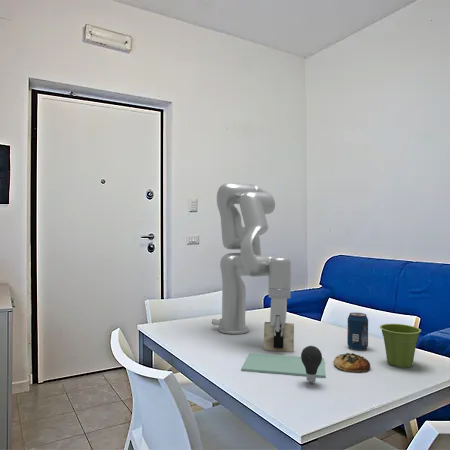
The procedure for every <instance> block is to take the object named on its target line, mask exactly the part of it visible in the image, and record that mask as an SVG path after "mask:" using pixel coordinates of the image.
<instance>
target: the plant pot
mask: <svg viewBox="0 0 450 450" xmlns="http://www.w3.org/2000/svg"><path fill="white" fill-rule="evenodd" d="M379 328H380V330H381V333H382V336H383V341H384V348H385V354H386V360H387V363H388V364H389V365H390V366H395V367H398V368H406V367H407V368H410V367H412V366H413V364H414V358H415V354H416V353H415V352H416V347H417V341H418V339H419V335H420V333H421V332H422V329H420V328H419V327H417V326H415V325H409V324H403V323H384V324H380V325H379Z"/></svg>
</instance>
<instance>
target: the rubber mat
mask: <svg viewBox="0 0 450 450" xmlns="http://www.w3.org/2000/svg"><path fill="white" fill-rule="evenodd" d="M240 371H242V372H253V373H262V374H263V373H264V374H276V375H287V376H297V377H298V376H299V377H307V373H306V369H305V366H304V364H303V363H302V360H301V356H297V355H284V354H270V353H269V354H268V353H257V352H248V354H247V357H246V359H245V360H244V362H243V365H242V366H241V370H240ZM326 376H327V373H326V364H325V358H324V357H322V361H321V364H320V365H319V367H318V369H317V373H316V378H321V379H323V378H325V379H326V378H327V377H326Z"/></svg>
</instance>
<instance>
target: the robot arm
mask: <svg viewBox="0 0 450 450" xmlns="http://www.w3.org/2000/svg"><path fill="white" fill-rule="evenodd" d="M216 204H217V210H218V212H219V217H220V225H221V226H220V229H221V240H222V245H223V247H224V248H225V249H227V250H235V251H237V250H239V251H240V252H230V253H226V254H224V255H222V257H221V258H220V265H219V266H220V267H219V268H220V272H221V273H220V274H221V280H222V286H221V287H222V288H221V291H222V292H221V295H222V298H221V301H222V302H221V318H219V319H216V318H215V319H214V318H212V319H211V325H213V326H217V325H218V327H217V331H219V332H220V333H222V334H227V335H242V334H246V333H249V330H250V327H249V326H247V325H246V300H247V299H246V297H247V296H246V293H247V292H246V291H247V289H246V285H245V282H244V281H243V279H242V277H247V276H249V277H252V278H255V277H256V278H257V277H259V278H260V277H268V298H270V299H271V300H270V312H269V313H270V315H269V319H270V320H269V322H270V327H272V326H274V348H283V328H284V326H285V323H287V322H286V321H287V312H288V309H287V305H288V302H287V301H288V299H291V285H292V284H291V281H292V280H291V275H292V271H291V269H292V268H291V265H292V261H291V259H290V258H289V257H284V256H278V255H273V254H268V255H267V254H264V255H263V254H262V251H261V249H262V247H261V240H260V236H261V235H264V234H266V232H267V231H268V230H269V225H268V221H267V217H266V215H269V214H272V213H273V212H274V210H275V208H276V201H275V198H274V196H273V195H272V193H270V192H268V191H267V190H265V189H263V188H262V187H260V186H259V185H255V184H249V183H240V182H238V183H237V182H227V183H223V184H221V185H220V186H219V188H218V190H217V193H216ZM235 205H239V207H240V211H239V209H238V208H237V207H236V206H235ZM240 212H241V213H240ZM242 220H243V224H244V226H243V225H242ZM280 326H281V327H280ZM280 329H281V330H280Z"/></svg>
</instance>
